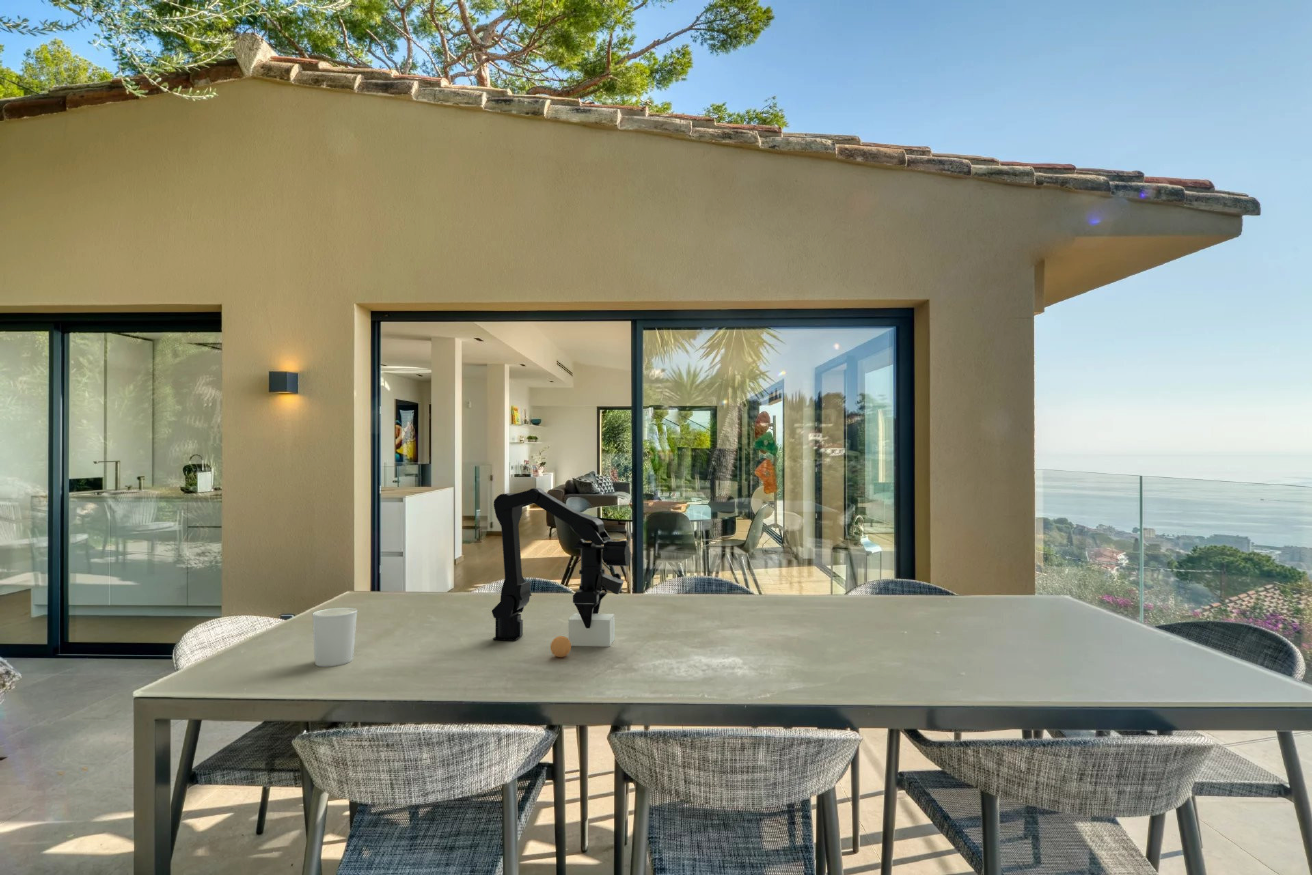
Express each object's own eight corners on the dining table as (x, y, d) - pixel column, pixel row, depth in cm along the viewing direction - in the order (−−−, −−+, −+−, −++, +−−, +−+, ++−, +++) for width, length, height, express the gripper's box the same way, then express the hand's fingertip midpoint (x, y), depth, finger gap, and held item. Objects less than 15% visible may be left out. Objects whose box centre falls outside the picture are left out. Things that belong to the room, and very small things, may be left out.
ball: (548, 659, 157) (548, 638, 157) (553, 653, 162) (553, 633, 162) (568, 659, 157) (568, 639, 157) (573, 654, 162) (573, 633, 162)
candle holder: (301, 665, 153) (302, 614, 154) (333, 654, 163) (334, 606, 163) (335, 669, 151) (336, 617, 151) (365, 657, 160) (366, 608, 161)
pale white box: (568, 645, 170) (568, 619, 170) (574, 638, 177) (574, 613, 177) (609, 646, 169) (609, 620, 169) (614, 639, 176) (614, 613, 176)
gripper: (615, 570, 164) (615, 633, 163) (626, 560, 182) (626, 616, 182) (572, 570, 165) (572, 632, 164) (587, 560, 184) (587, 616, 183)
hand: (591, 624), depth 173 cm, fingers open, 9 cm apart
